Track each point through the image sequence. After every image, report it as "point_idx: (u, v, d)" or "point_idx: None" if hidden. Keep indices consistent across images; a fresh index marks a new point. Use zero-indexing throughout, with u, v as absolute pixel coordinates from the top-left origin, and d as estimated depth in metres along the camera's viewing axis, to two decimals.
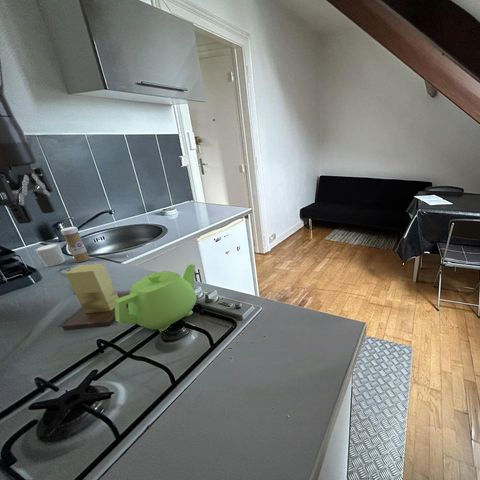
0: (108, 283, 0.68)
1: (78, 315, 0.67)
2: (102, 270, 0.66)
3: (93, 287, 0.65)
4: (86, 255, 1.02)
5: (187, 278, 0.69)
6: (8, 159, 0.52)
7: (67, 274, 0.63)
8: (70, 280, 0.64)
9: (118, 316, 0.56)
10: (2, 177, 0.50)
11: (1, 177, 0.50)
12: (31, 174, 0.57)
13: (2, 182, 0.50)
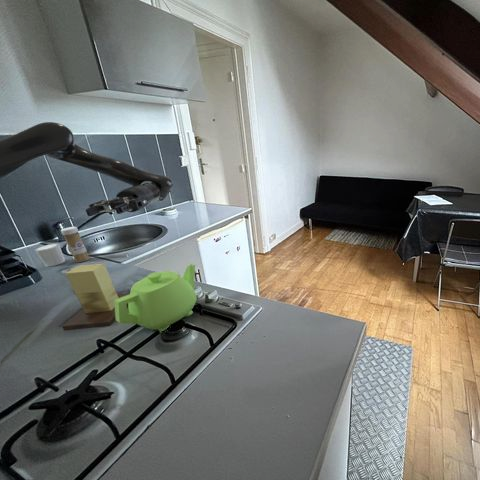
0: (108, 283, 0.68)
1: (78, 315, 0.67)
2: (102, 270, 0.66)
3: (93, 287, 0.65)
4: (86, 255, 1.02)
5: (187, 278, 0.69)
6: None
7: (67, 274, 0.63)
8: (70, 280, 0.64)
9: (118, 316, 0.56)
10: (146, 205, 0.83)
11: (146, 205, 0.83)
12: None
13: (145, 205, 0.82)
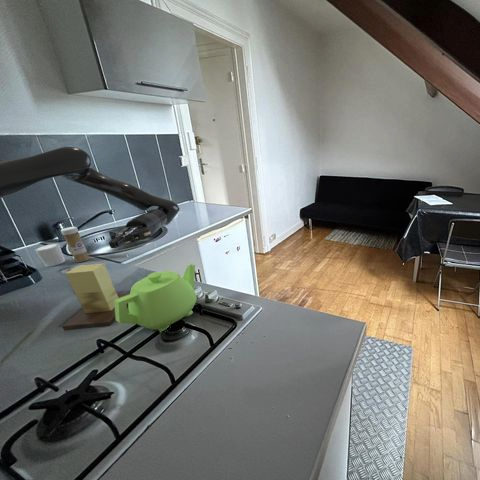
0: (108, 283, 0.68)
1: (78, 315, 0.67)
2: (102, 270, 0.66)
3: (93, 287, 0.65)
4: (86, 255, 1.02)
5: (187, 278, 0.69)
6: (150, 232, 0.89)
7: (67, 274, 0.63)
8: (70, 280, 0.64)
9: (118, 316, 0.56)
10: (149, 236, 0.84)
11: (149, 236, 0.84)
12: None
13: (146, 237, 0.83)
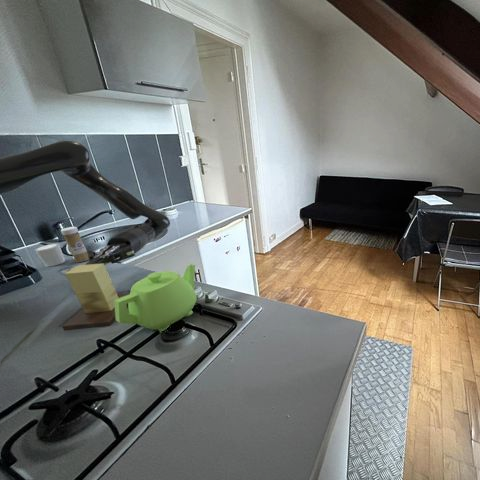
0: (108, 283, 0.68)
1: (78, 315, 0.67)
2: (102, 270, 0.66)
3: (93, 287, 0.65)
4: (86, 255, 1.02)
5: (187, 278, 0.69)
6: (135, 250, 0.81)
7: (67, 274, 0.63)
8: (70, 280, 0.64)
9: (118, 316, 0.56)
10: (132, 256, 0.76)
11: None
12: None
13: (129, 257, 0.75)
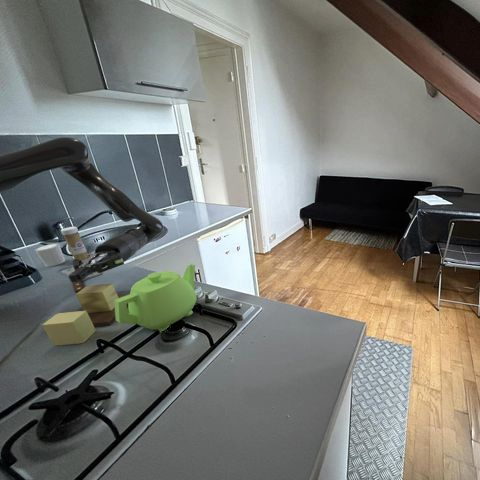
0: (78, 320, 0.58)
1: None
2: (85, 334, 0.60)
3: None
4: (86, 255, 1.02)
5: (187, 278, 0.69)
6: (125, 258, 0.76)
7: None
8: None
9: (118, 316, 0.56)
10: (121, 264, 0.71)
11: (122, 264, 0.71)
12: None
13: (118, 265, 0.70)
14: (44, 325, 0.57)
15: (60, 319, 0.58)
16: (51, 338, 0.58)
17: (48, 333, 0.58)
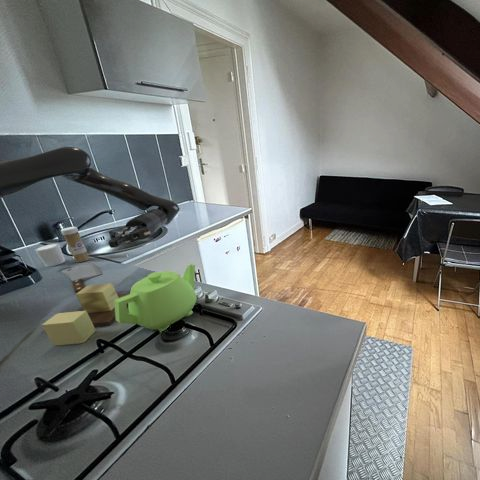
0: (78, 320, 0.58)
1: None
2: (85, 334, 0.60)
3: None
4: (86, 255, 1.02)
5: (187, 278, 0.69)
6: (150, 232, 0.89)
7: None
8: None
9: (118, 316, 0.56)
10: (149, 236, 0.84)
11: (149, 236, 0.84)
12: None
13: (146, 237, 0.83)
14: (44, 325, 0.57)
15: (59, 319, 0.58)
16: (51, 338, 0.58)
17: (48, 333, 0.58)
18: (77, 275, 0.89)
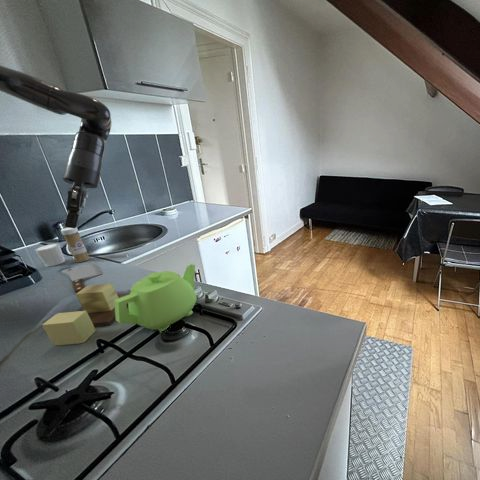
0: (78, 320, 0.58)
1: None
2: (85, 334, 0.60)
3: None
4: (86, 255, 1.02)
5: (187, 278, 0.69)
6: (88, 178, 0.73)
7: None
8: None
9: (118, 316, 0.56)
10: (80, 195, 0.70)
11: (80, 195, 0.70)
12: (87, 193, 0.76)
13: (79, 198, 0.70)
14: (44, 325, 0.57)
15: (59, 319, 0.58)
16: (51, 338, 0.58)
17: (48, 333, 0.58)
18: (77, 275, 0.89)
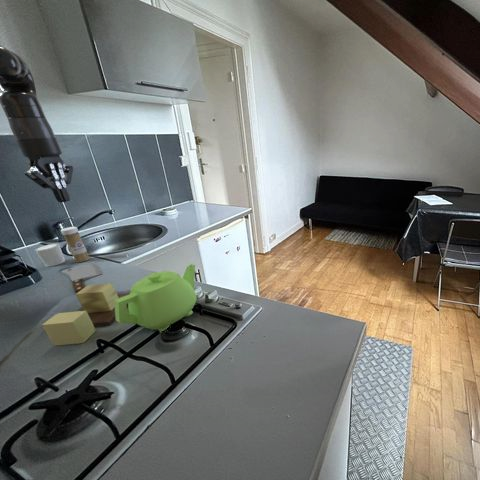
0: (78, 320, 0.58)
1: None
2: (85, 334, 0.60)
3: None
4: (86, 255, 1.02)
5: (187, 278, 0.69)
6: (36, 151, 0.67)
7: None
8: None
9: (118, 316, 0.56)
10: (36, 174, 0.67)
11: (36, 174, 0.67)
12: (58, 162, 0.72)
13: (38, 177, 0.67)
14: (44, 325, 0.57)
15: (59, 319, 0.58)
16: (51, 338, 0.58)
17: (48, 333, 0.58)
18: (77, 275, 0.89)
